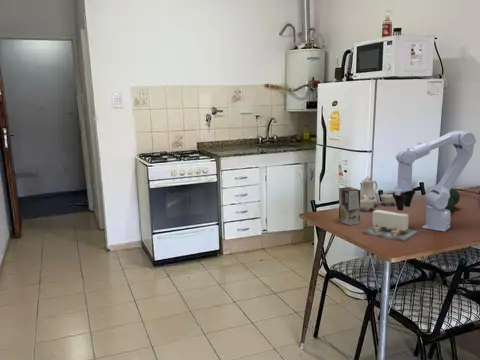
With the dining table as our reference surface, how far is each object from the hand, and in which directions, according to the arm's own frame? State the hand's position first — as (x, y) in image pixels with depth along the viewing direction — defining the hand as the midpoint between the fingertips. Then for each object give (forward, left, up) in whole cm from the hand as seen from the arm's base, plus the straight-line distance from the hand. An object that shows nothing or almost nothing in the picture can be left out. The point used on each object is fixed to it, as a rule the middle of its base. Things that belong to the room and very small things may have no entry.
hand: (403, 208), depth 189 cm
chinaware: (+29, -30, -10) cm, 43 cm away
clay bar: (+2, +9, -6) cm, 11 cm away
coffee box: (+24, +4, -10) cm, 26 cm away
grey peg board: (+2, +9, -9) cm, 13 cm away
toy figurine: (-5, -41, -10) cm, 42 cm away
